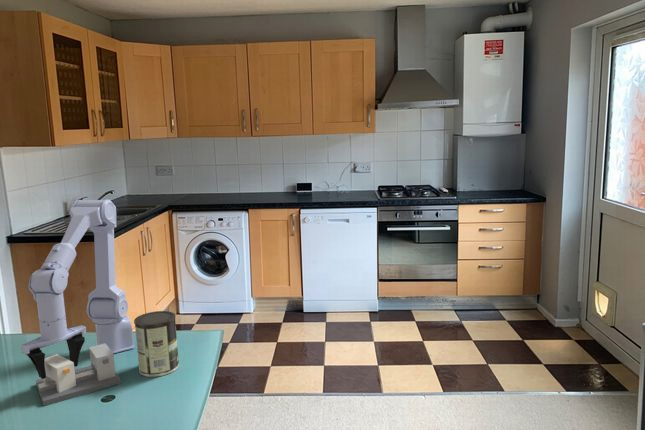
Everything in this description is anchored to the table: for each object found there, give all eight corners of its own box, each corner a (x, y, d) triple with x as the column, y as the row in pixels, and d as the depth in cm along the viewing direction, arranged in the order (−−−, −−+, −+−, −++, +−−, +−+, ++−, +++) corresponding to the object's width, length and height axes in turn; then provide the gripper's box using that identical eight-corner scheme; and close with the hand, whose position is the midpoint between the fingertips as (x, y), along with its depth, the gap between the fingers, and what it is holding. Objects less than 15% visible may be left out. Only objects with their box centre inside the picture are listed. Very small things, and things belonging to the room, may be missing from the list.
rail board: (107, 365, 138) (105, 340, 137) (120, 383, 127) (117, 356, 126) (36, 384, 128) (33, 357, 127) (43, 405, 118) (40, 376, 117)
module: (59, 376, 130) (57, 354, 129) (77, 386, 124) (74, 363, 123) (43, 382, 126) (40, 359, 126) (60, 393, 121) (58, 369, 120)
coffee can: (166, 356, 143) (162, 307, 140) (186, 367, 136) (183, 316, 133) (131, 369, 135) (126, 318, 133) (151, 381, 128) (146, 327, 126)
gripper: (74, 306, 131) (79, 356, 133) (12, 324, 119) (19, 378, 122) (88, 311, 126) (93, 363, 129) (25, 330, 115) (33, 386, 117)
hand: (58, 371), depth 125 cm, fingers open, 7 cm apart
